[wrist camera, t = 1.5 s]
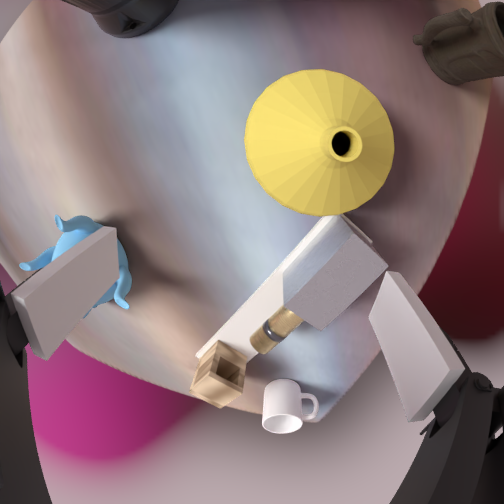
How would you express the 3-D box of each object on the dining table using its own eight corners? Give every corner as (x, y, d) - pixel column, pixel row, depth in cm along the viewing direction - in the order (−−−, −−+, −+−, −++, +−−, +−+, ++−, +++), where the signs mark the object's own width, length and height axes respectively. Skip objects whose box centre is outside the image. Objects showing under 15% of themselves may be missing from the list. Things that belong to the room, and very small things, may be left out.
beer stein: (461, 34, 25) (524, 8, 7) (477, 87, 29) (550, 80, 11) (392, 26, 29) (442, -23, 11) (410, 83, 33) (478, 61, 15)
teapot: (96, 191, 43) (52, 210, 32) (157, 272, 48) (128, 310, 37) (55, 241, 48) (17, 266, 37) (107, 309, 53) (78, 344, 42)
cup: (263, 378, 57) (261, 414, 48) (318, 376, 56) (322, 412, 46) (265, 399, 60) (262, 433, 51) (315, 397, 59) (318, 431, 50)
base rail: (196, 353, 55) (195, 356, 55) (332, 204, 41) (333, 206, 40) (230, 373, 57) (230, 376, 56) (371, 240, 43) (372, 241, 42)
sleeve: (282, 270, 46) (283, 306, 36) (336, 210, 41) (353, 233, 32) (313, 293, 47) (320, 331, 38) (366, 237, 43) (388, 265, 33)
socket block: (200, 355, 55) (189, 392, 46) (219, 336, 53) (208, 375, 43) (227, 371, 57) (220, 408, 47) (247, 354, 54) (242, 393, 44)
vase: (330, 223, 42) (366, 284, 25) (227, 162, 40) (190, 181, 22) (392, 128, 35) (466, 130, 18) (289, 60, 33) (300, 5, 15)
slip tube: (335, 242, 38) (341, 254, 34) (354, 259, 39) (362, 272, 35) (250, 330, 45) (248, 346, 42) (269, 341, 46) (268, 358, 42)
